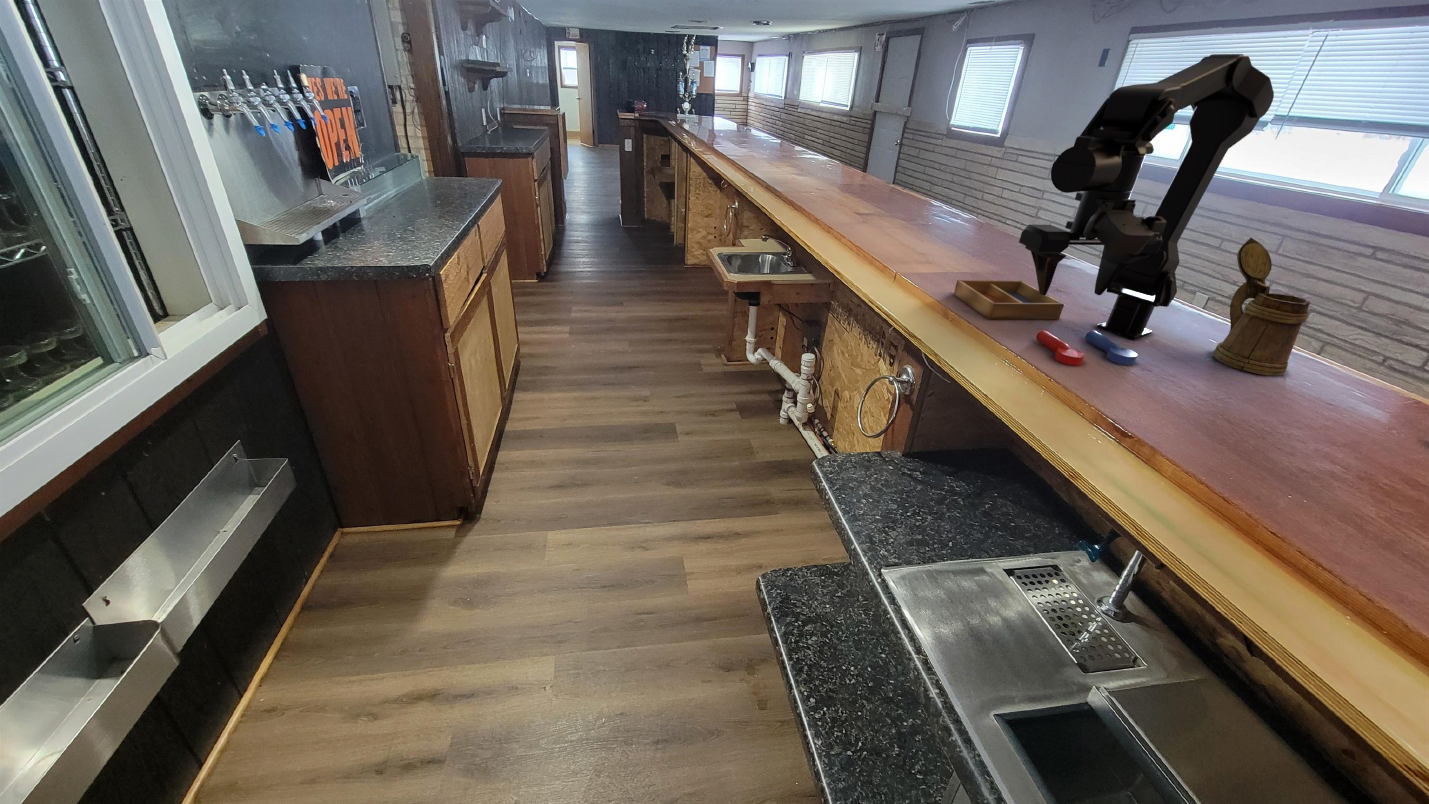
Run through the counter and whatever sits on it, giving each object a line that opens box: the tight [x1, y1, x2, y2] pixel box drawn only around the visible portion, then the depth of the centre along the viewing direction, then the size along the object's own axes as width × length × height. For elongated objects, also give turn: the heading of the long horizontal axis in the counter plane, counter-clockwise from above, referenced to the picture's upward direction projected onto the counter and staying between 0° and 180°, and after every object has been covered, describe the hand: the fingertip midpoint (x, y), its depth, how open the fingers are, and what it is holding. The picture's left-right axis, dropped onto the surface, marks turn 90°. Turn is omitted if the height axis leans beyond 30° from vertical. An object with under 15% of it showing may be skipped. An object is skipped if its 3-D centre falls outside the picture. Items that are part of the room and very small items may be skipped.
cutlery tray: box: [953, 279, 1065, 320], centre depth 110 cm, size 14×14×3 cm
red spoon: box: [1035, 330, 1085, 366], centre depth 91 cm, size 10×4×2 cm, turn 6°
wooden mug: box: [1212, 237, 1311, 376], centre depth 88 cm, size 9×14×18 cm, turn 10°
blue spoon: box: [1084, 329, 1138, 366], centre depth 92 cm, size 10×4×2 cm, turn 6°
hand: (1070, 294), depth 87 cm, fingers open, 9 cm apart
